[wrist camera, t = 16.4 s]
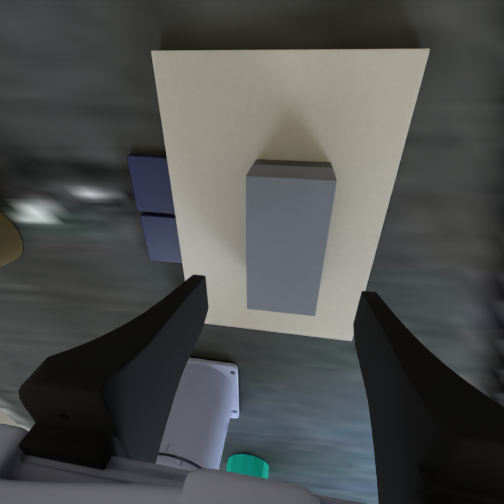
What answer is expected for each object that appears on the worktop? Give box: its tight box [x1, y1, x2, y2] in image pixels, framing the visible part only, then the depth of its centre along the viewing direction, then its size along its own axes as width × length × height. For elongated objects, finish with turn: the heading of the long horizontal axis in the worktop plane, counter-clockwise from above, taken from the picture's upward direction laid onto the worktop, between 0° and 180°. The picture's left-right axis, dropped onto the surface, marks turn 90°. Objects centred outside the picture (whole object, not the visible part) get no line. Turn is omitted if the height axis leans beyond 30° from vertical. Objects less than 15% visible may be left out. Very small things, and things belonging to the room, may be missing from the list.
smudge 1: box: [140, 213, 182, 263], centre depth 23 cm, size 4×3×1 cm
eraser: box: [246, 159, 337, 316], centre depth 18 cm, size 9×4×4 cm, turn 0°
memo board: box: [151, 48, 430, 341], centre depth 20 cm, size 20×14×1 cm
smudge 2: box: [127, 154, 175, 214], centre depth 20 cm, size 4×3×1 cm
